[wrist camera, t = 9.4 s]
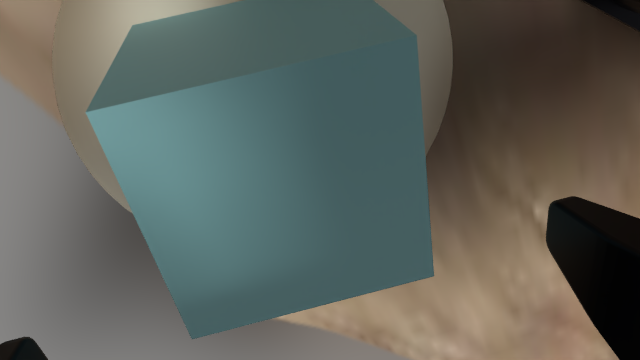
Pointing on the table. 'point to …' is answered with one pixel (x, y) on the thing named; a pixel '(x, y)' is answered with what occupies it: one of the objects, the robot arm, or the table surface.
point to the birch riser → (157, 3)
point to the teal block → (271, 155)
